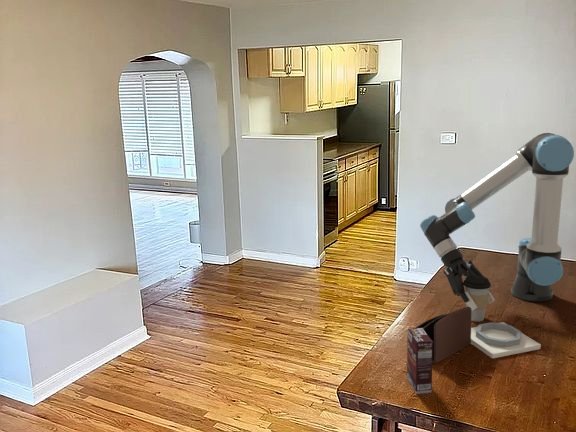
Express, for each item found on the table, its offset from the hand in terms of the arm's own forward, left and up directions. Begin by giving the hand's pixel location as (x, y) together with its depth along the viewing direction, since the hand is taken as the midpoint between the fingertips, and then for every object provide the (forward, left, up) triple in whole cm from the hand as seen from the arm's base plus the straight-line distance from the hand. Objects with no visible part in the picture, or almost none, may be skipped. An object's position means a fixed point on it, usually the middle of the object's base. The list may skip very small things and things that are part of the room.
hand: (483, 305), depth 189 cm
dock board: (+5, +15, -6) cm, 17 cm away
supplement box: (+43, +30, -6) cm, 53 cm away
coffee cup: (+1, -3, -6) cm, 7 cm away
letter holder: (+25, +13, -6) cm, 29 cm away
